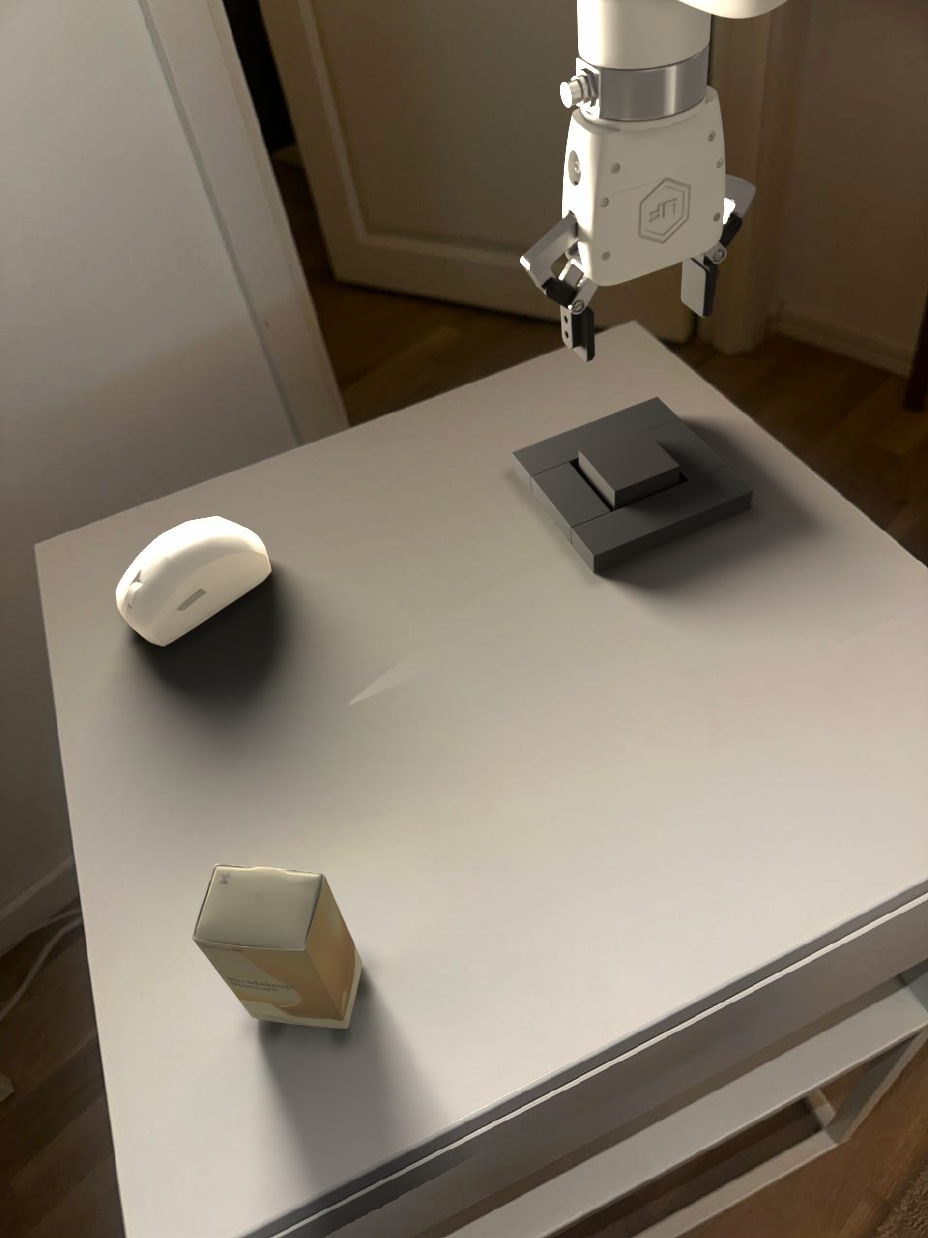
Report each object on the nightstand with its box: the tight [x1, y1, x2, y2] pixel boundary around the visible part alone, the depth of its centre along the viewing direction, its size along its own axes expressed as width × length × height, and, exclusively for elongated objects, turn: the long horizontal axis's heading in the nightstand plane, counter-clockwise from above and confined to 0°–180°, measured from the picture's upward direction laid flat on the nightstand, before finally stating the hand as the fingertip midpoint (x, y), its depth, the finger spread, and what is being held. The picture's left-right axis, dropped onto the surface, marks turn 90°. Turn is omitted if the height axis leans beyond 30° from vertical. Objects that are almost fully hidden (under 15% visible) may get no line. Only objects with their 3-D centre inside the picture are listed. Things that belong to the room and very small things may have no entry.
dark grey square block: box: [579, 426, 680, 512], centre depth 83 cm, size 6×6×3 cm
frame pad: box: [511, 396, 755, 574], centre depth 83 cm, size 15×15×2 cm
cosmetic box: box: [191, 863, 363, 1030], centre depth 54 cm, size 6×4×12 cm
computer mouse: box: [115, 516, 272, 647], centre depth 79 cm, size 6×13×6 cm, turn 132°
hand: (638, 330), depth 70 cm, fingers open, 9 cm apart
